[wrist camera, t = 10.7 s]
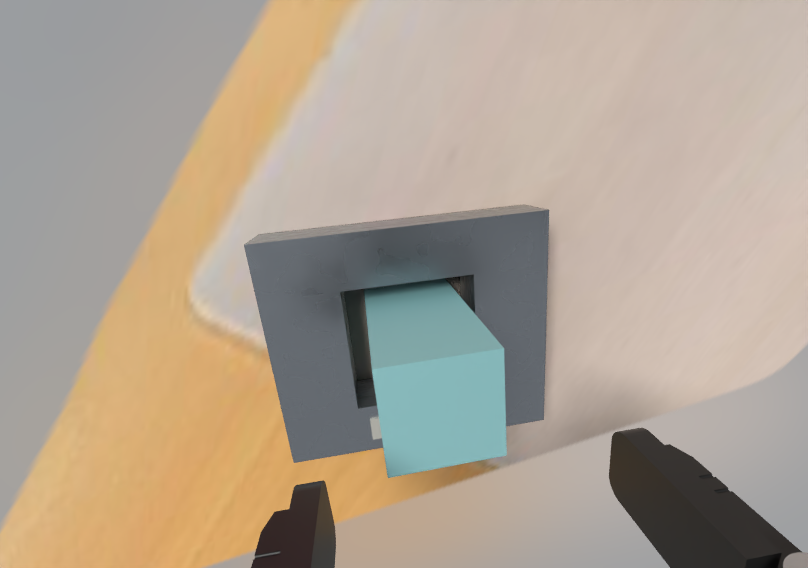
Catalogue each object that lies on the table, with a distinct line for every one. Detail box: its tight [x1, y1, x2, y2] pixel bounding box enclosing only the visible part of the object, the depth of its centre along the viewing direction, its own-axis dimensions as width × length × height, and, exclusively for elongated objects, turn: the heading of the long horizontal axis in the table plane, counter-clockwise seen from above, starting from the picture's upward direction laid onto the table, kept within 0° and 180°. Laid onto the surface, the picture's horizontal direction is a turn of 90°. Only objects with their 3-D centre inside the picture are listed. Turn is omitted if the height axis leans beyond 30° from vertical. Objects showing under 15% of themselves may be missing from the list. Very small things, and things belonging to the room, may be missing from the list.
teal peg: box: [364, 278, 507, 478], centre depth 16 cm, size 4×4×8 cm
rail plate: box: [244, 205, 549, 463], centre depth 19 cm, size 13×11×3 cm
